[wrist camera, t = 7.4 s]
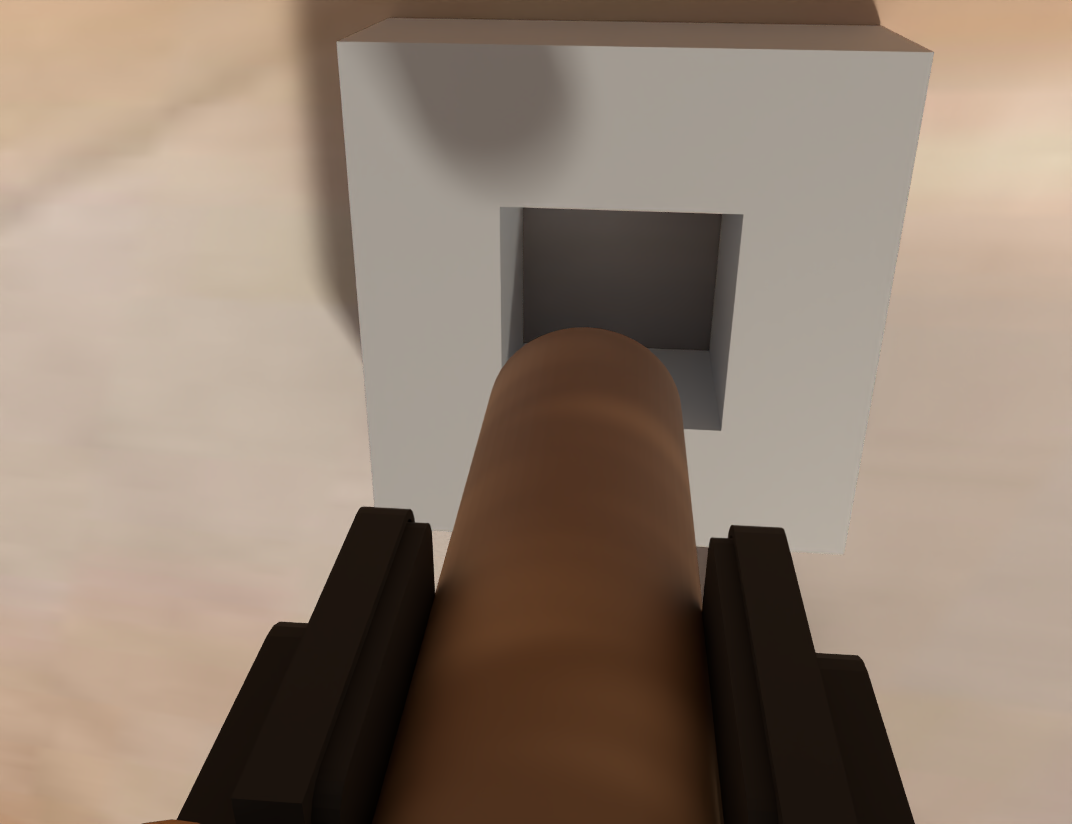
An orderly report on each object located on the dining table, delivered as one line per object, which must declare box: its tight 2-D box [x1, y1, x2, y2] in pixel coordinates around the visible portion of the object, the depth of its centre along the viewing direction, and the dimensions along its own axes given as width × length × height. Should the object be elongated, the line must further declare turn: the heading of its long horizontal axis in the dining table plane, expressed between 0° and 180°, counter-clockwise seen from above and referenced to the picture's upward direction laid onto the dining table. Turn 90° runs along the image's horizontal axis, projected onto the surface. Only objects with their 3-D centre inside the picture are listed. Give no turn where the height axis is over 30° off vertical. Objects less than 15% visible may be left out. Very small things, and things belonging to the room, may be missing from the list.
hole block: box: [336, 18, 934, 555], centre depth 21 cm, size 10×10×4 cm
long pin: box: [372, 327, 724, 824], centre depth 9 cm, size 3×3×14 cm
